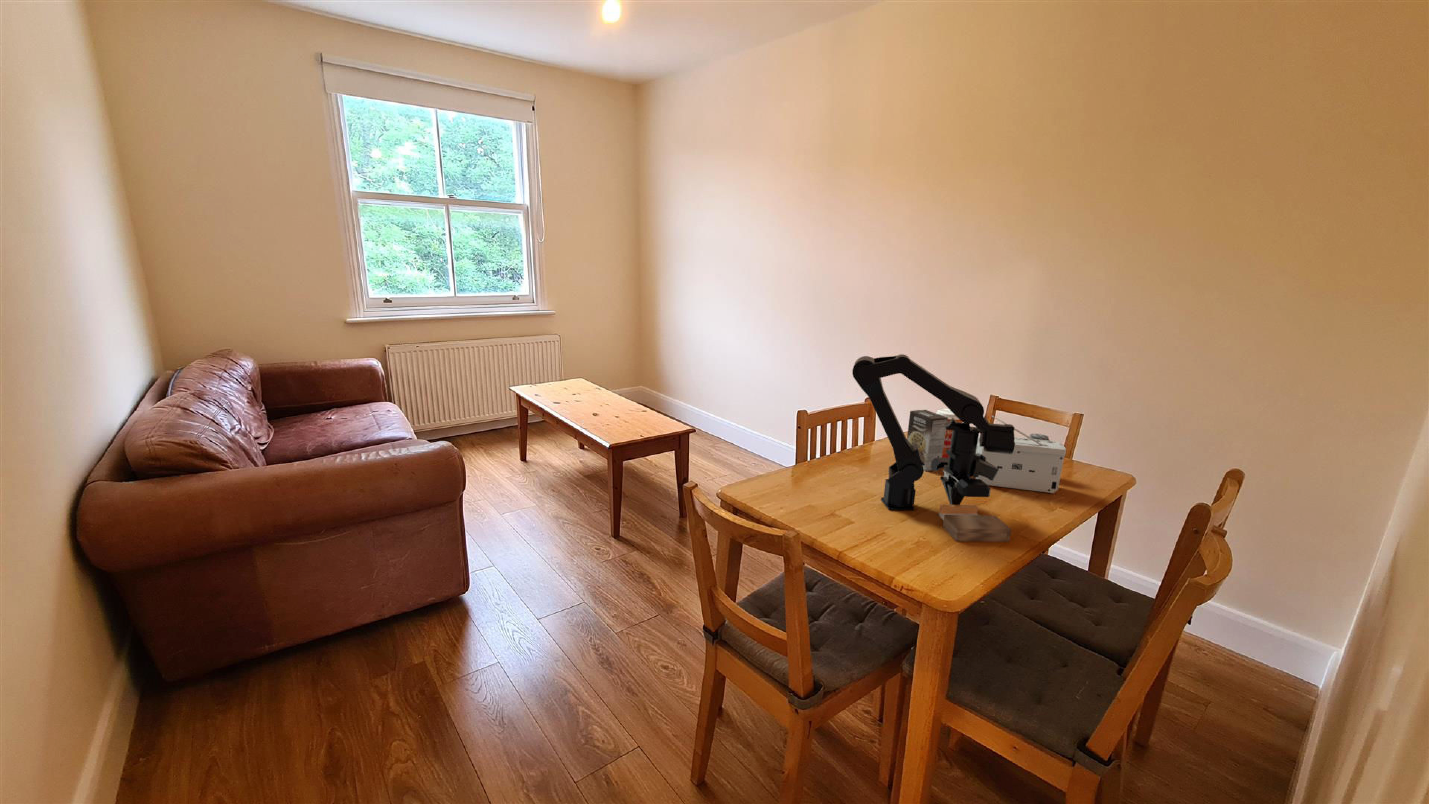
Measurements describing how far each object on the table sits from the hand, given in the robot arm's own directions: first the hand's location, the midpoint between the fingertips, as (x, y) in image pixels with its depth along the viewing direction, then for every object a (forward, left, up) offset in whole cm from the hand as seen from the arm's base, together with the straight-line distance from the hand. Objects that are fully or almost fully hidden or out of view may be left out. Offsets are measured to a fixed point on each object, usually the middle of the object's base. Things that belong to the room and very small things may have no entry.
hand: (954, 509), depth 139 cm
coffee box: (+6, +33, -1) cm, 34 cm away
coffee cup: (+16, +40, -1) cm, 43 cm away
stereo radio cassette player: (+26, +18, -1) cm, 31 cm away
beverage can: (+36, +26, -1) cm, 44 cm away
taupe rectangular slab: (0, -11, -1) cm, 11 cm away
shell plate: (0, -5, -1) cm, 5 cm away
